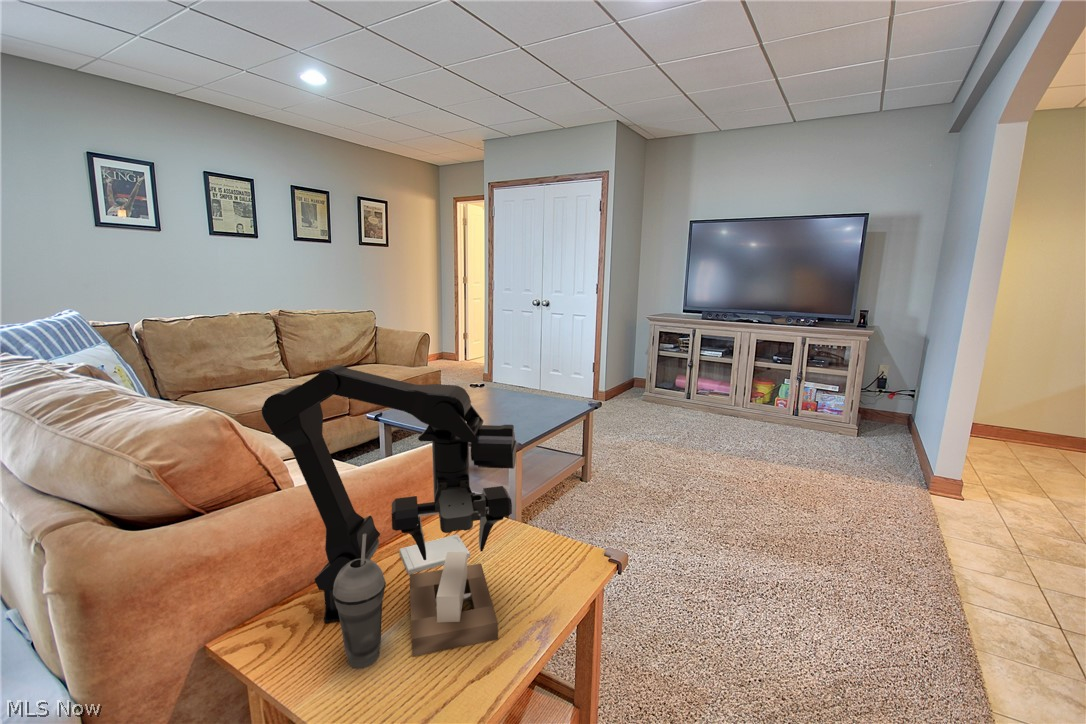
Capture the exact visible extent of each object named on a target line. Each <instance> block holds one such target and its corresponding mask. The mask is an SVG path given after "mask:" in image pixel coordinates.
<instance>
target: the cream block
mask: <svg viewBox="0 0 1086 724" xmlns="http://www.w3.org/2000/svg"><path fill="white" fill-rule="evenodd" d="M467 566H468V558H467V552H447V555H446V559H445V563H444V565H443V568H442V570H443V572H442V576H441V580H440V584H439V588H438V592H437V596H436V601H437V607H436V610H437V622H460V617H461V611H462V610H463V604H464V602H463V598H464V592H465V586H466V579H467Z"/></svg>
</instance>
